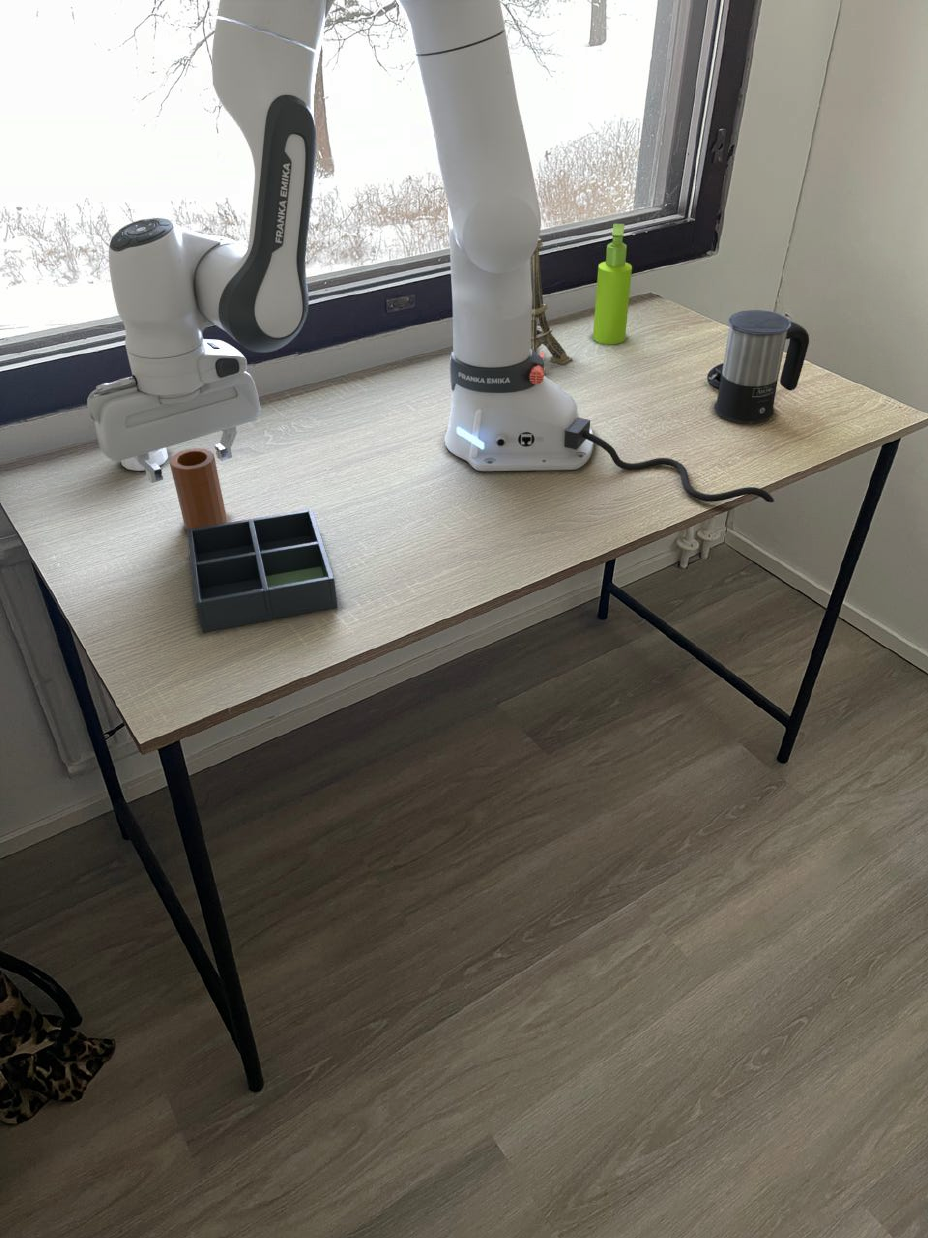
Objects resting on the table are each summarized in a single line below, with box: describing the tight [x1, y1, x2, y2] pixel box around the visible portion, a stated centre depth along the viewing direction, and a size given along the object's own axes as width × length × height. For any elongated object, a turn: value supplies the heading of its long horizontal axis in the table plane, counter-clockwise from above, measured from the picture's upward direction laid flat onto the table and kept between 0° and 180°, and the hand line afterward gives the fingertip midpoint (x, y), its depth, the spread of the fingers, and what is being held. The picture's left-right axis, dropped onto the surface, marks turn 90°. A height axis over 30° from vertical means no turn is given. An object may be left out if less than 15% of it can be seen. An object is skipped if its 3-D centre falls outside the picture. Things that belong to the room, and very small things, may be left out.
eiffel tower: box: [530, 238, 573, 366], centre depth 157 cm, size 11×11×25 cm
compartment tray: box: [186, 508, 338, 633], centre depth 114 cm, size 16×16×4 cm
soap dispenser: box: [592, 223, 633, 345], centre depth 166 cm, size 6×7×20 cm
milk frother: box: [706, 309, 810, 425], centre depth 148 cm, size 14×16×15 cm
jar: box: [169, 447, 228, 531], centre depth 123 cm, size 6×6×10 cm
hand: (190, 468), depth 121 cm, fingers open, 8 cm apart
